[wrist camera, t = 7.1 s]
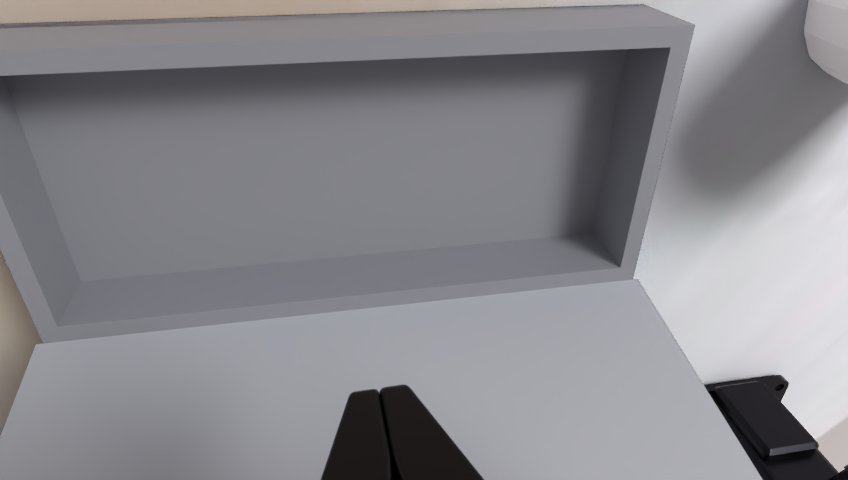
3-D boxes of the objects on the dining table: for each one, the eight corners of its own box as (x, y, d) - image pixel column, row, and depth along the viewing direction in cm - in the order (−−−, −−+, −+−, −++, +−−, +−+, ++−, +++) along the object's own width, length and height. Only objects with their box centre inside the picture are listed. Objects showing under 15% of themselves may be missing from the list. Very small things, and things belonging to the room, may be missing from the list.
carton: (598, 236, 24) (632, 279, 22) (73, 286, 21) (42, 343, 18) (643, 4, 19) (695, 25, 17) (-30, 25, 16) (-90, 53, 14)
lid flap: (637, 279, 22) (633, 290, 22) (35, 344, 18) (43, 355, 19) (819, 569, 14) (807, 578, 15) (-126, 760, 11) (-108, 764, 12)
